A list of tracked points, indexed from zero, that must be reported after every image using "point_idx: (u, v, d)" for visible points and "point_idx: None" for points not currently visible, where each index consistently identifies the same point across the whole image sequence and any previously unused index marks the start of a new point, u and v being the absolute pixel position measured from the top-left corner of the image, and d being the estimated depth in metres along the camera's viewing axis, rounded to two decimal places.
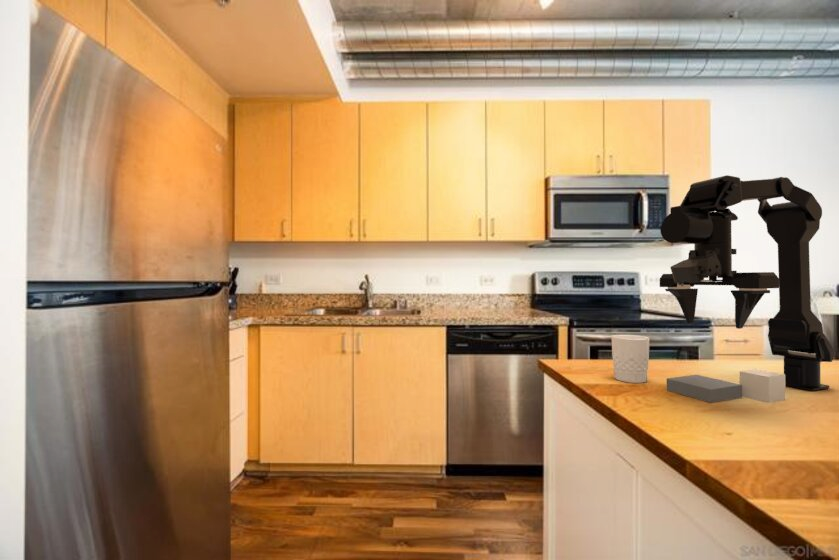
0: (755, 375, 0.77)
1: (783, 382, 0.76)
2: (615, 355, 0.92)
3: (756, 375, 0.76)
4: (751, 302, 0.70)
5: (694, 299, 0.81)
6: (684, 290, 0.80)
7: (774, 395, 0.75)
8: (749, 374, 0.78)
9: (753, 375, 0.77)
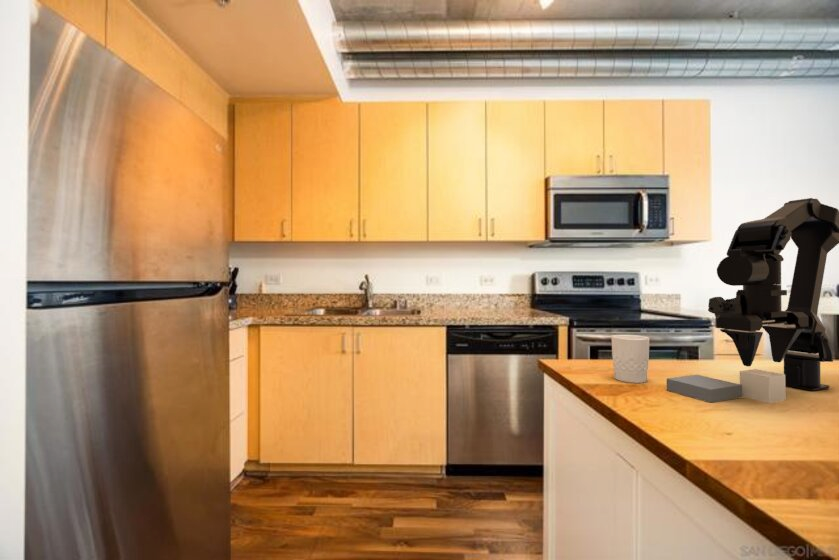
0: (755, 375, 0.77)
1: (783, 382, 0.76)
2: (615, 355, 0.92)
3: (756, 375, 0.76)
4: (748, 342, 0.75)
5: (787, 339, 0.78)
6: (773, 328, 0.80)
7: (775, 395, 0.75)
8: (749, 374, 0.77)
9: (753, 375, 0.77)
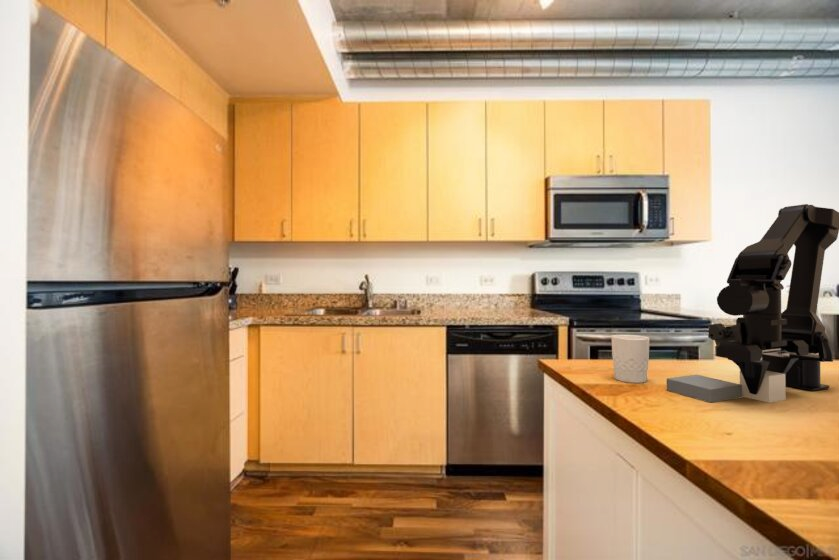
0: None
1: (783, 382, 0.76)
2: (615, 355, 0.92)
3: None
4: (754, 371, 0.75)
5: (781, 368, 0.77)
6: (767, 356, 0.79)
7: (775, 394, 0.75)
8: None
9: None
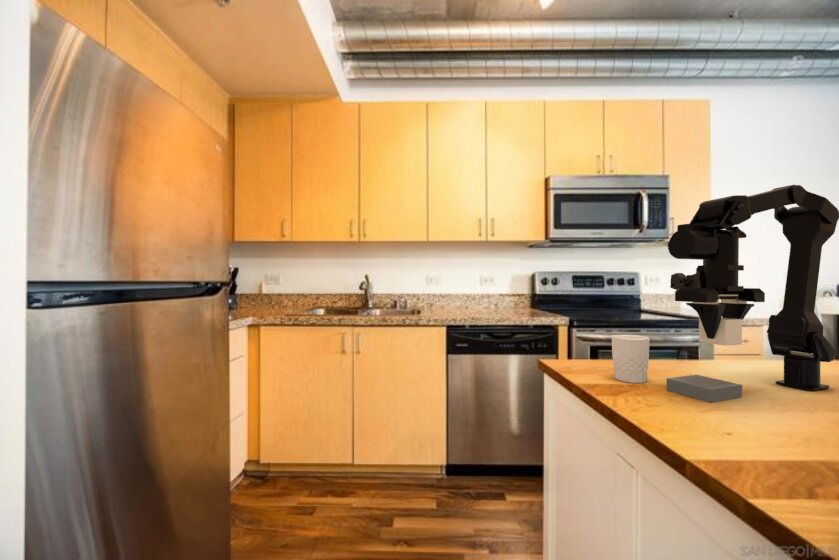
0: None
1: (740, 326, 0.78)
2: (615, 355, 0.92)
3: None
4: (711, 315, 0.77)
5: (737, 314, 0.79)
6: (725, 304, 0.81)
7: (731, 338, 0.77)
8: None
9: None
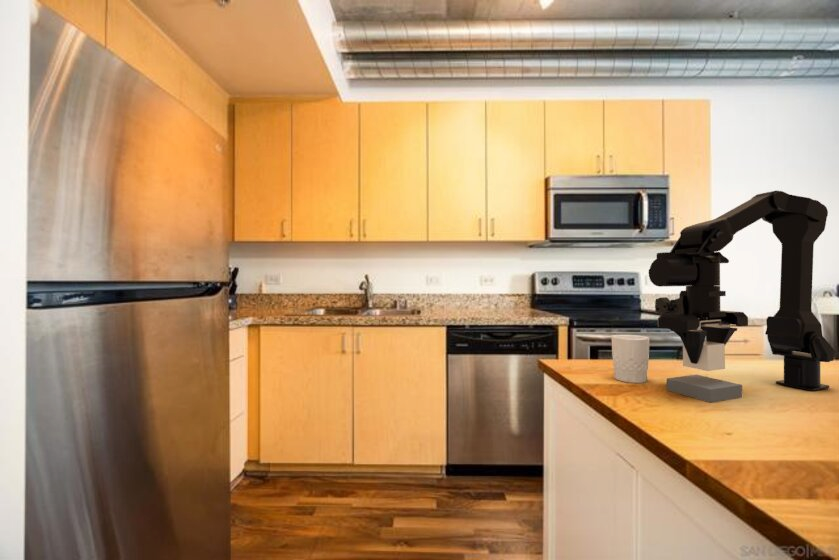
0: None
1: (722, 351, 0.79)
2: (615, 355, 0.92)
3: None
4: (694, 341, 0.78)
5: (721, 339, 0.80)
6: (709, 328, 0.82)
7: (713, 363, 0.78)
8: None
9: None
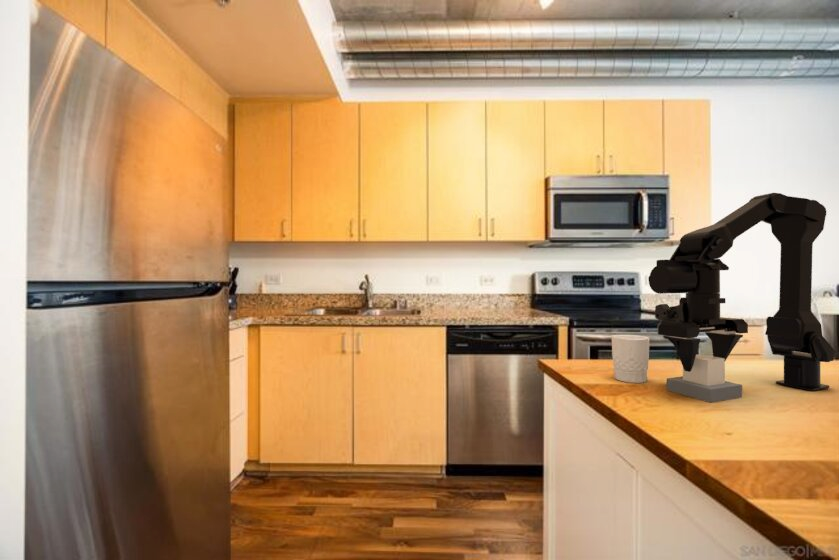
0: (696, 359, 0.79)
1: (722, 366, 0.79)
2: (615, 355, 0.92)
3: (697, 359, 0.79)
4: (687, 348, 0.78)
5: (726, 345, 0.81)
6: (715, 334, 0.83)
7: (713, 378, 0.78)
8: None
9: None
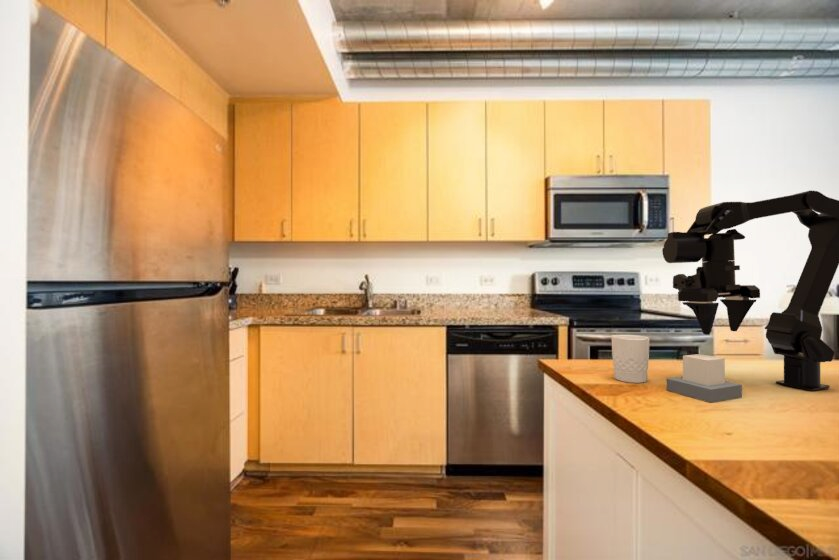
0: (696, 359, 0.79)
1: (722, 366, 0.79)
2: (615, 355, 0.92)
3: (697, 359, 0.79)
4: (706, 313, 0.83)
5: (741, 310, 0.87)
6: (730, 301, 0.89)
7: (713, 378, 0.78)
8: (691, 358, 0.80)
9: (694, 359, 0.80)
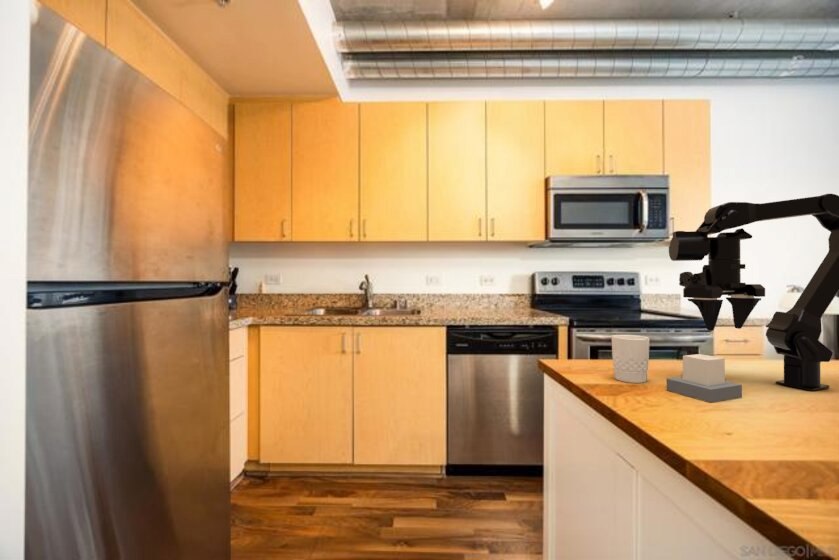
0: (696, 359, 0.79)
1: (722, 366, 0.79)
2: (615, 355, 0.92)
3: (697, 359, 0.79)
4: (711, 309, 0.86)
5: (746, 308, 0.89)
6: (735, 299, 0.91)
7: (713, 378, 0.78)
8: (691, 358, 0.80)
9: (694, 359, 0.80)
